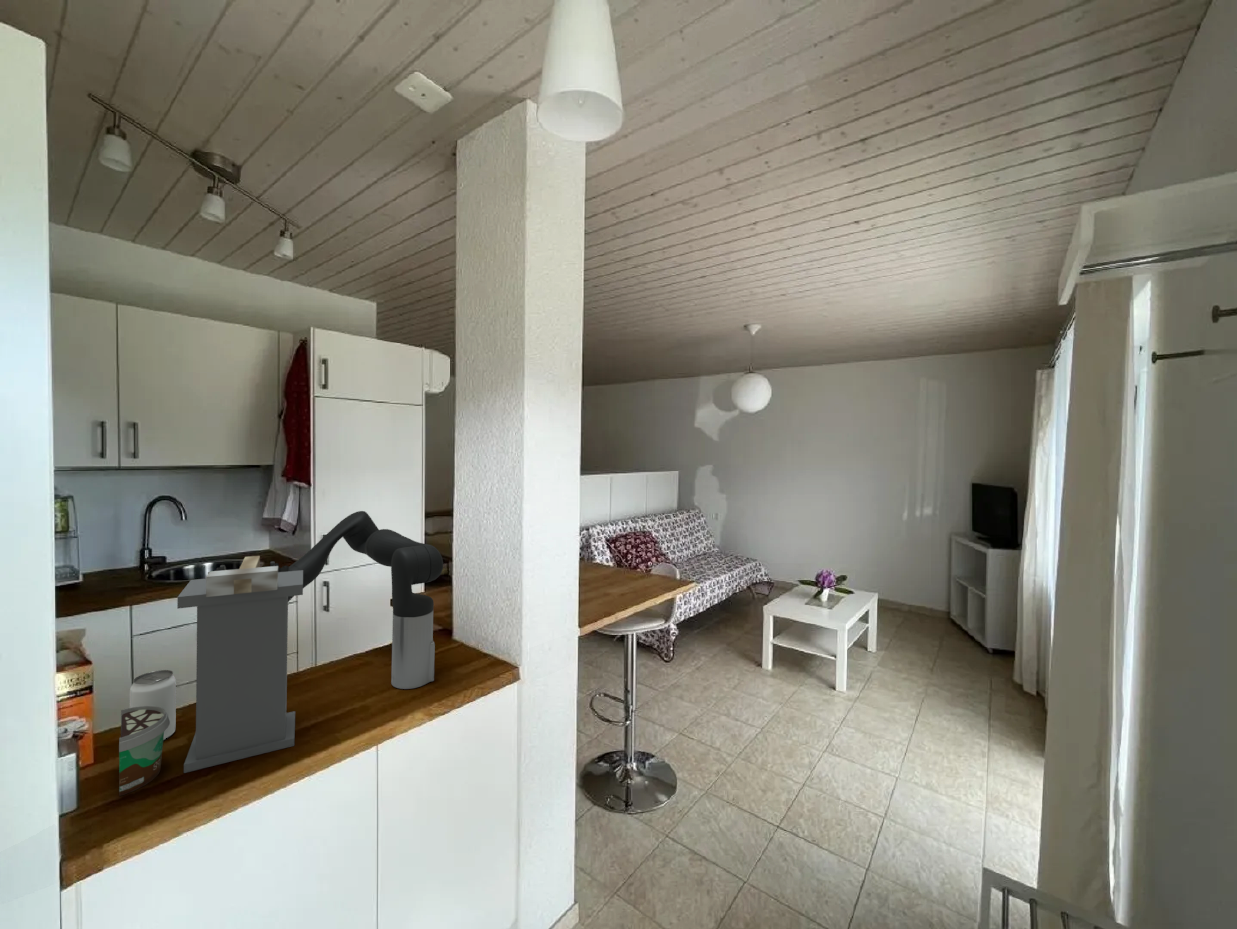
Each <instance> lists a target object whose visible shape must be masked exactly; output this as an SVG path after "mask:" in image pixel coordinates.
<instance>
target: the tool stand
mask: <svg viewBox="0 0 1237 929" xmlns="http://www.w3.org/2000/svg"><path fill="white" fill-rule="evenodd" d="M303 592H304V588H303V570H299V571H288V572H278V587H277V590H270V591H260V592H250V593H240V594H231V595H221V596H211V597H206V578H198V579H197V578H196V579H191V580H189V582H188V583H187V585H186V586H185V587H184V589H182V591H181V592H180V593H179V594H178V596H177V600H176V601H177V602H176V603H177V609H179V610H180V609H186V608H196V681H195V684H196V688H195V689H196V690H195V692H196V693H195V694H196V695H195V696H196V697H195V698H196V699H195V702H196V703H195V704H196V706H195V733H194V736H193V739H192V742H191V743H190V744H191V745H190V746H189V749H188V752H187V755H186V758H185V760H184V763H183V773H184V774H186V773H190V772H194V771H198V770H203V769H206V768H209V767H213V766H214V767H215V766H218V765H222V764H226V763H229V762H235V761H237V760H242V759H246V758H250V757H254V756H258V755H262V754H267V753H270V752H275V751H278V750H283V749H286V748H290V747H295V734H296V732H295V731H296V711H290V712H287V705H288V704H287V703H288V702H287V700H288V699H287V698H288V697H287V694H288V693H287V692H288V690H287V689H288V688H287V687H288V629H289V628H288V627H289V625H288V624H289V622H288V621H289V612H288V611H289V602H288V596H294V597H296V596H303V594H304V593H303Z"/></svg>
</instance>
